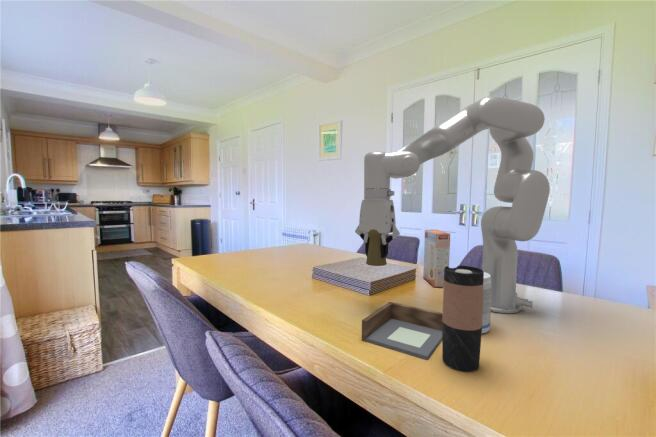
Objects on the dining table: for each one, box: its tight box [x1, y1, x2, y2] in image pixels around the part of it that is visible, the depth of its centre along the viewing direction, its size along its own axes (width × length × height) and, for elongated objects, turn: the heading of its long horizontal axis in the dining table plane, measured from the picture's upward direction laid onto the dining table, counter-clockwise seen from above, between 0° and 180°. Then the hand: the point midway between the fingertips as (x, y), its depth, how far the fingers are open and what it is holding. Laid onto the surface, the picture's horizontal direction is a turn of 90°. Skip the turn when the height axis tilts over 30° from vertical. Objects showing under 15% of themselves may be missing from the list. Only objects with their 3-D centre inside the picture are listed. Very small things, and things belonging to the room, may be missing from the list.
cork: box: [365, 229, 387, 267], centre depth 94 cm, size 6×6×11 cm
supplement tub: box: [482, 272, 492, 334], centre depth 83 cm, size 10×10×15 cm
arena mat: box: [362, 319, 442, 361], centre depth 78 cm, size 16×16×1 cm
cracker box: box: [422, 229, 451, 288], centre depth 125 cm, size 14×6×21 cm, turn 179°
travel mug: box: [441, 265, 484, 373], centre depth 66 cm, size 8×8×20 cm
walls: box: [361, 301, 443, 342], centre depth 78 cm, size 16×16×5 cm
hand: (376, 255), depth 94 cm, fingers closed on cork, 4 cm apart
